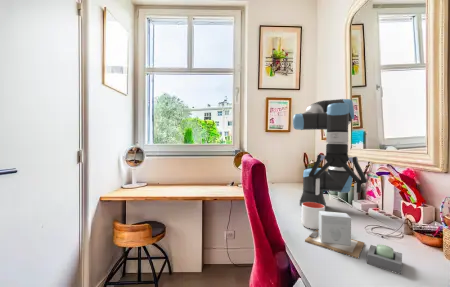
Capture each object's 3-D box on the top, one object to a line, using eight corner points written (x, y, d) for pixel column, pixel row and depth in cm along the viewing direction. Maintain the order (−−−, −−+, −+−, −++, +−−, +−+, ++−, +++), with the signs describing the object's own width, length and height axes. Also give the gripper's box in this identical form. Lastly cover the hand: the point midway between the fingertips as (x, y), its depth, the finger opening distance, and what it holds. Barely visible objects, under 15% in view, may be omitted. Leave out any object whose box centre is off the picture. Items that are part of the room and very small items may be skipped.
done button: (377, 252, 73) (377, 243, 73) (393, 257, 70) (393, 247, 70) (375, 257, 69) (376, 247, 69) (392, 263, 66) (393, 252, 66)
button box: (370, 253, 76) (370, 244, 76) (401, 262, 70) (402, 253, 70) (366, 263, 69) (367, 254, 69) (401, 274, 64) (401, 264, 64)
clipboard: (304, 241, 84) (304, 238, 84) (316, 230, 94) (316, 228, 94) (358, 258, 72) (358, 255, 72) (364, 244, 83) (364, 241, 83)
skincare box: (346, 238, 85) (346, 212, 85) (351, 246, 79) (352, 218, 79) (317, 235, 88) (318, 209, 88) (320, 242, 81) (321, 215, 81)
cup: (326, 231, 93) (327, 209, 93) (303, 229, 95) (303, 207, 95) (321, 223, 103) (321, 202, 103) (299, 221, 105) (300, 201, 105)
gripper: (301, 142, 88) (300, 193, 88) (374, 144, 72) (372, 206, 72) (308, 142, 94) (306, 190, 94) (377, 144, 77) (375, 201, 78)
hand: (335, 197), depth 83 cm, fingers open, 13 cm apart
